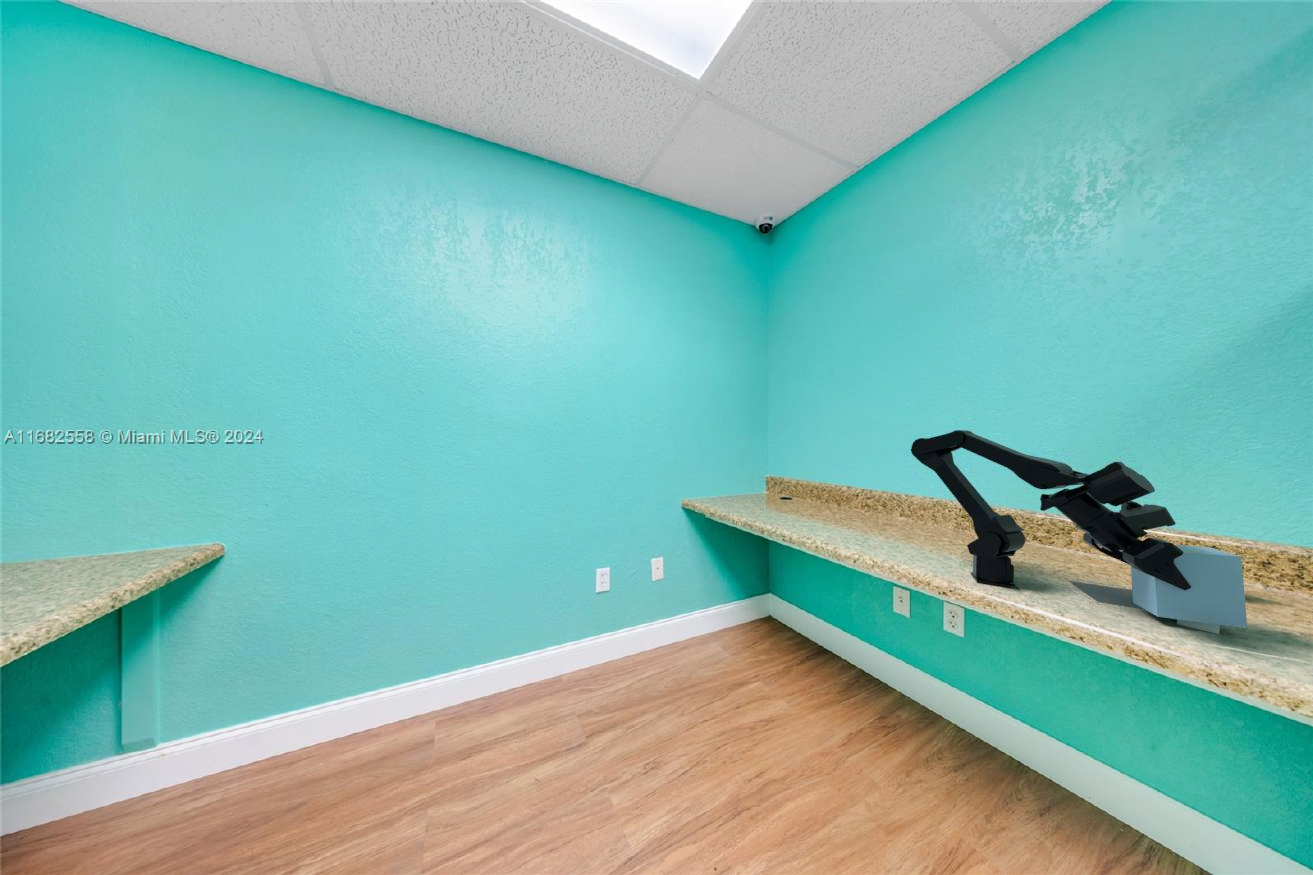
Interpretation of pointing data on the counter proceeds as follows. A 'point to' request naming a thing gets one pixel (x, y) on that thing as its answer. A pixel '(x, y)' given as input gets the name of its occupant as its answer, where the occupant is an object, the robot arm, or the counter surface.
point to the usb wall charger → (1200, 626)
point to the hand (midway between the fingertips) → (1172, 581)
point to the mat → (1108, 594)
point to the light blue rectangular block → (1197, 589)
